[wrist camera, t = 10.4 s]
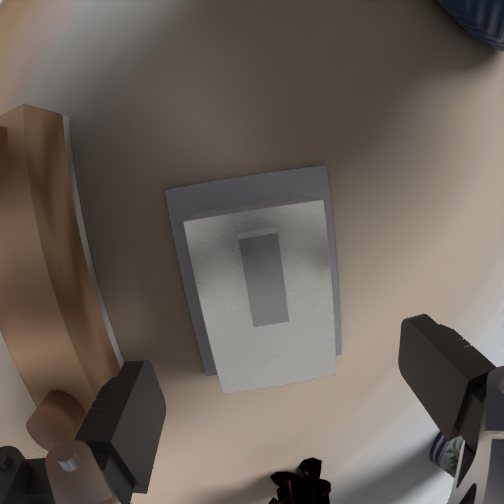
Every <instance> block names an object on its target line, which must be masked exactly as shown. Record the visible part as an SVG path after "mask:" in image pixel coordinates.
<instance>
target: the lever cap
mask: <svg viewBox="0 0 504 504" xmlns="http://www.w3.org/2000/svg"><path fill="white" fill-rule="evenodd" d="M183 223H184V228H185V233H186V238H187V243H188V248H189V253H190V258H191V263H192V268H193V272H194V277H195V282H196V286H197V291H198V295H199V300H200V304H201V308H202V313H203V317H204V321H205V325H206V330H207V334H208V338H209V342H210V346H211V350H212V354H213V358H214V362H215V366H216V369H217V373H218V377H219V381H220V385H221V388H222V392H223V393H232V392H240V391H248V390H255V389H262V388H268V387H275V386H281V385H287V384H292V383H298V382H303V381H308V380H313V379H318V378H323V377H328V376H332V375H336V349H335V327H334V310H333V294H332V281H331V269H330V257H329V247H328V237H327V227H326V218H325V210H324V201H323V200H322V199H319V198H315V197H312V196H309V195H305V194H303V195H296V196H289V197H282V198H275V199H269V200H262V201H256V202H249V203H243V204H237V205H231V206H225V207H219V208H213V209H207V210H201V211H196V212H195V213H194V214H192V215H191V216H190V217H189V218H188V219H186V220H185V221H184V222H183Z"/></svg>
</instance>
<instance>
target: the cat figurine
mask: <svg viewBox="0 0 504 504" xmlns="http://www.w3.org/2000/svg"><path fill="white" fill-rule="evenodd" d="M321 464H322V461H321V460H318V459H315V458H310V459H306V460H304V461H303V462H302V463H301V465H300V466H299V467H300V469H301V471H302V473H303V475H304V476H305V477H302V478H300V477H299V476H297V475H294V474H292V473H289V472H276V473H274V474H273V475H272V476H270V477H271V479H272V481H273V482H274V483H275V484H276V485H277V486H279V488H278V489H277V495H278V500H277V499H275V498H272V500H271V501H270V502H269V504H330V501H329V493H330V492H331V483H330V482H328V481H327V480H324V479H319V478H320V473H321Z"/></svg>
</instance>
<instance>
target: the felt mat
mask: <svg viewBox="0 0 504 504" xmlns="http://www.w3.org/2000/svg"><path fill="white" fill-rule="evenodd" d="M303 194H305V195H309V196H312V197H315V198H319V199H322V200H323V201H324V210H325V218H326V227H327V237H328V247H329V257H330V269H331V281H332V294H333V310H334V327H335V349H336V355H341V323H340V301H339V284H338V269H337V256H336V244H335V233H334V223H333V213H332V204H331V196H330V187H329V179H328V172H327V165H324V166H315V167H306V168H298V169H290V170H282V171H274V172H267V173H260V174H253V175H246V176H240V177H234V178H227V179H221V180H215V181H209V182H204V183H198V184H192V185H187V186H182V187H176V188H171V189H166V190H165V196H166V202H167V207H168V213H169V218H170V224H171V229H172V234H173V239H174V244H175V249H176V254H177V259H178V263H179V268H180V273H181V277H182V282H183V286H184V291H185V295H186V299H187V304H188V308H189V312H190V316H191V320H192V324H193V328H194V332H195V336H196V340H197V344H198V348H199V351H200V355H201V359H202V363H203V366H204V370H205V374H206V376H210V375H218V373H217V369H216V366H215V362H214V358H213V354H212V350H211V346H210V342H209V338H208V334H207V330H206V325H205V321H204V317H203V313H202V308H201V304H200V300H199V295H198V291H197V286H196V282H195V277H194V272H193V268H192V263H191V258H190V253H189V248H188V243H187V238H186V233H185V228H184V223H183V222H184V221H185V220H186V219H188V218H189V217H190V216H191V215H192V214H194V213H195V212H196V211H201V210H207V209H213V208H219V207H225V206H231V205H237V204H243V203H249V202H256V201H262V200H269V199H275V198H282V197H289V196H296V195H303Z"/></svg>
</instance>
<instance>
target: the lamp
mask: <svg viewBox="0 0 504 504" xmlns="http://www.w3.org/2000/svg"><path fill="white" fill-rule="evenodd" d="M438 2H439V3H440V5H442V6H443V7H444V9H445V10H446V12H447V13H448V14H449V15H450V16H451V17H452V18H453V19H454V20H455V21H456V22H457V23H458V24H460V25H461V27H463V28H464V29H465V30H466V31H467V32H469V33H470V34H471V35H473V36H474V37H475V38H477V39H479V40H480V41H482V42H484V43H485V44H487V45H489V46H491V47H493V48H495V49H498V50H500V51H504V0H438Z"/></svg>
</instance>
